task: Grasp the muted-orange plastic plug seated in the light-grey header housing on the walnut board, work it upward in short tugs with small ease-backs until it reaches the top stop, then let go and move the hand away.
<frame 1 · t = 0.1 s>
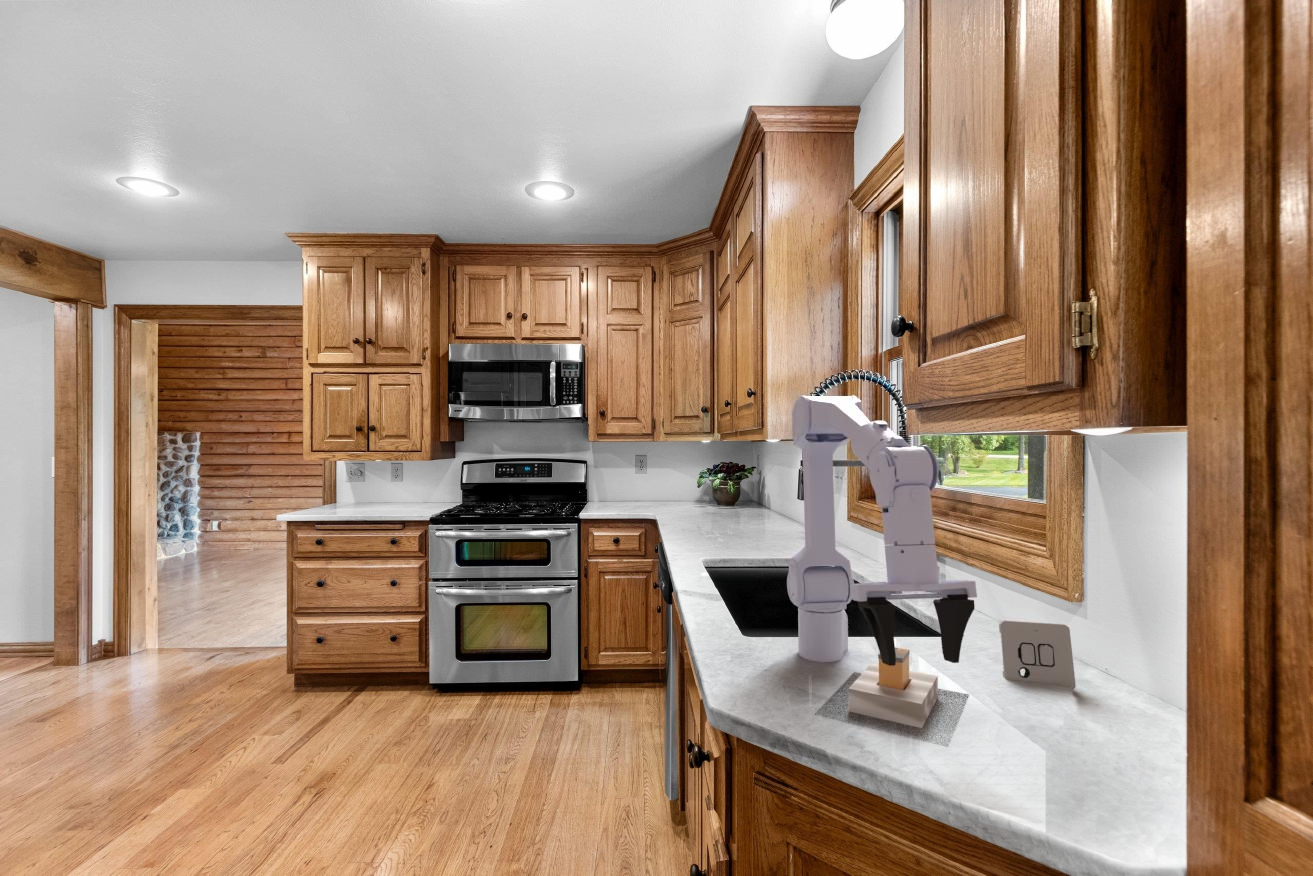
hand: (920, 662, 73), 10 cm above the countertop, tool pointing down, fingers open, 7 cm apart
plug: (894, 704, 84), point 1 cm above the countertop, slide at 0.0 cm
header: (894, 711, 84), on the countertop
electrical switch: (1033, 684, 94), on the countertop
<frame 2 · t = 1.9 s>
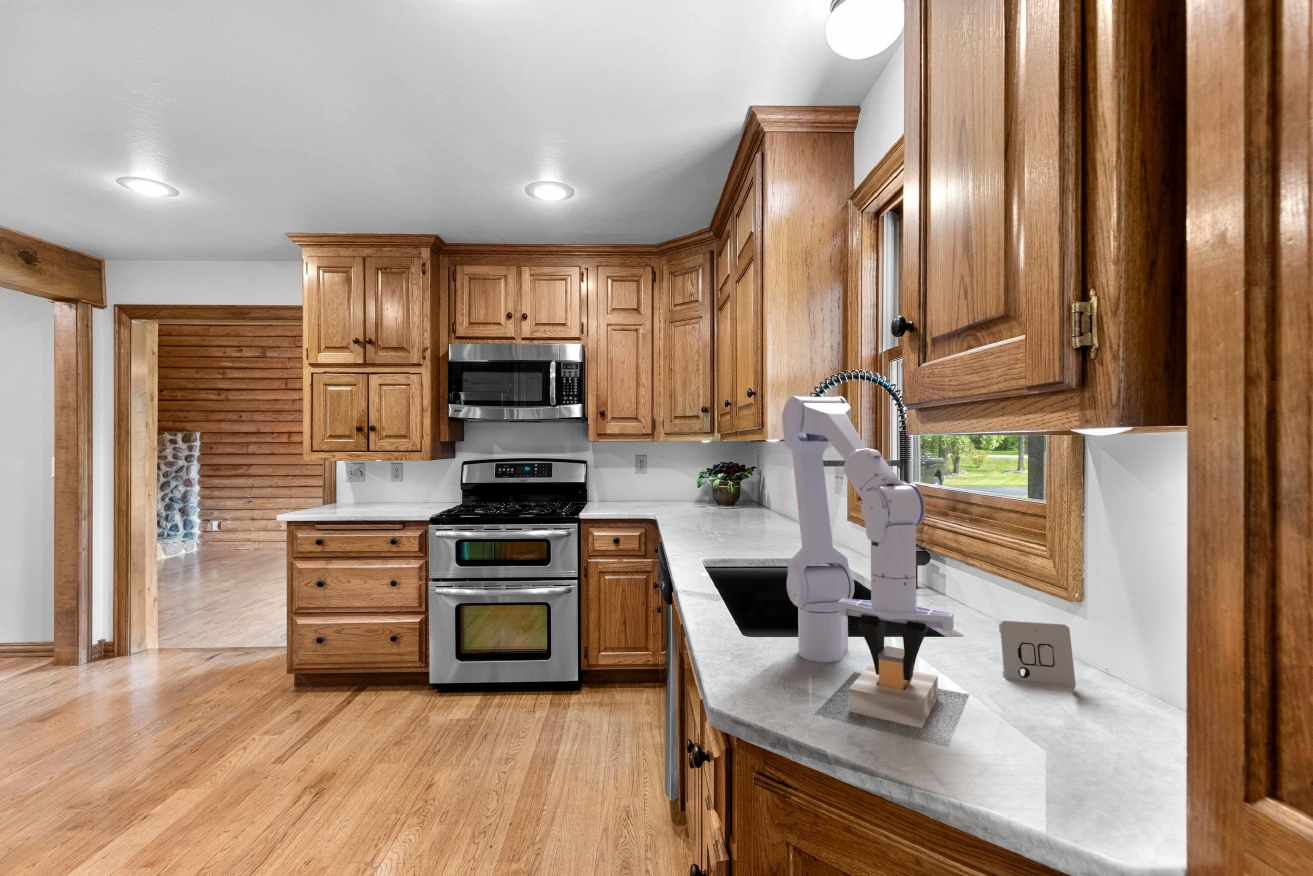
hand: (894, 675, 84), 5 cm above the countertop, tool pointing down, fingers closed on plug, 3 cm apart
plug: (894, 704, 84), point 1 cm above the countertop, slide at 0.0 cm, touching gripper
everything else where it was.
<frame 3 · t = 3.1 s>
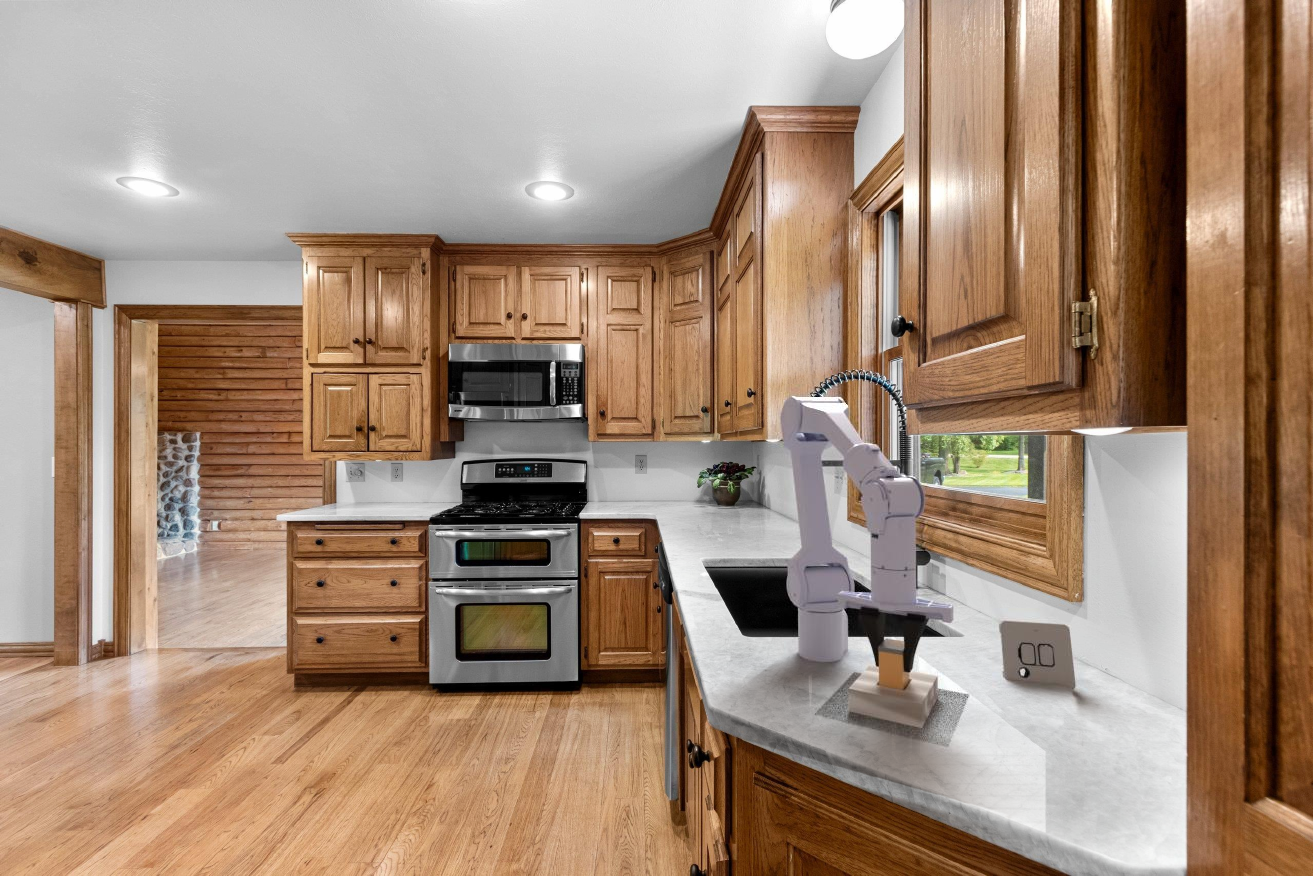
hand: (894, 667, 85), 6 cm above the countertop, tool pointing down, fingers closed on plug, 3 cm apart
plug: (894, 696, 84), point 2 cm above the countertop, slide at 1.0 cm, touching gripper
everything else where it was.
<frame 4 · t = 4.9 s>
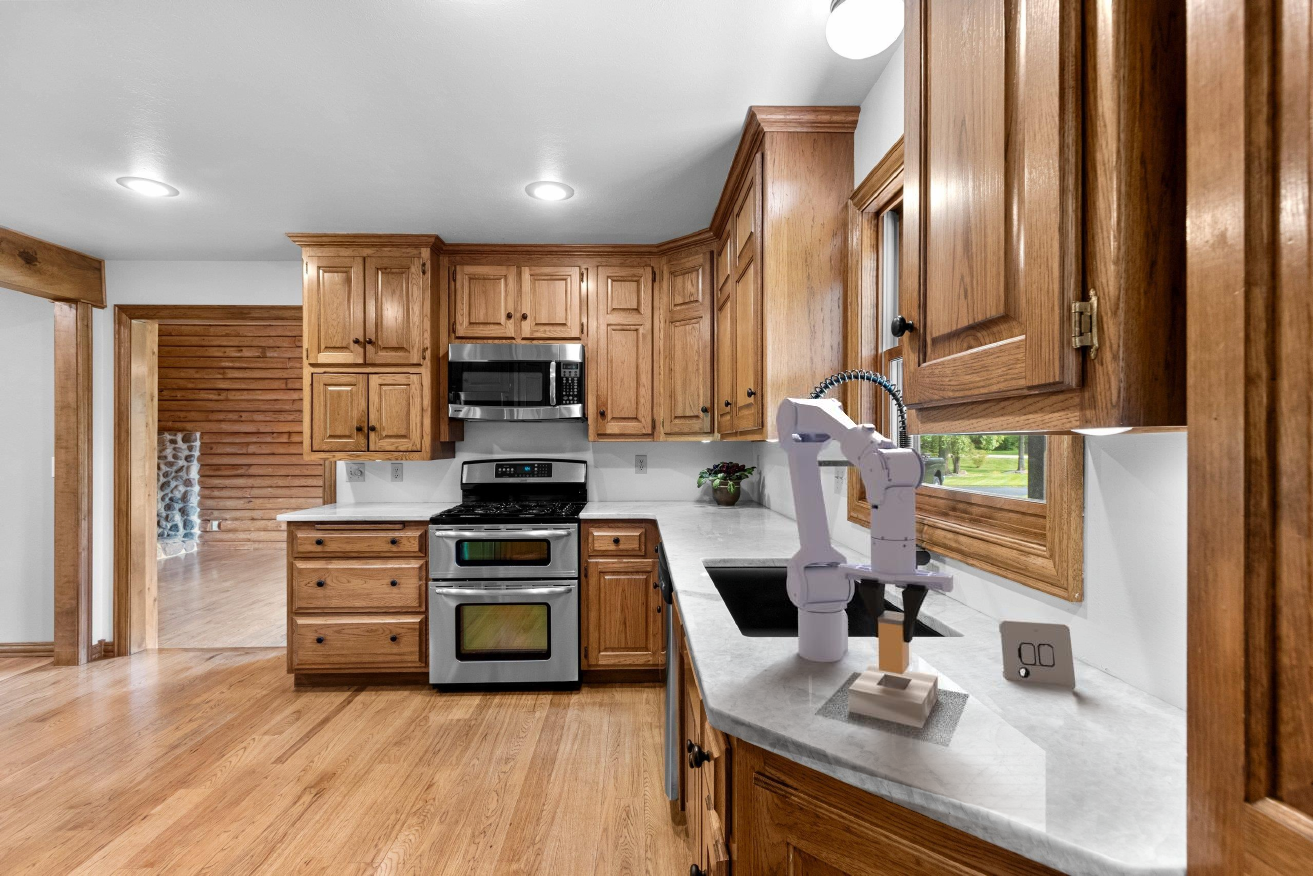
hand: (893, 638, 85), 10 cm above the countertop, tool pointing down, fingers closed on plug, 3 cm apart
plug: (894, 667, 85), point 6 cm above the countertop, slide at 4.9 cm, touching gripper
everything else where it was.
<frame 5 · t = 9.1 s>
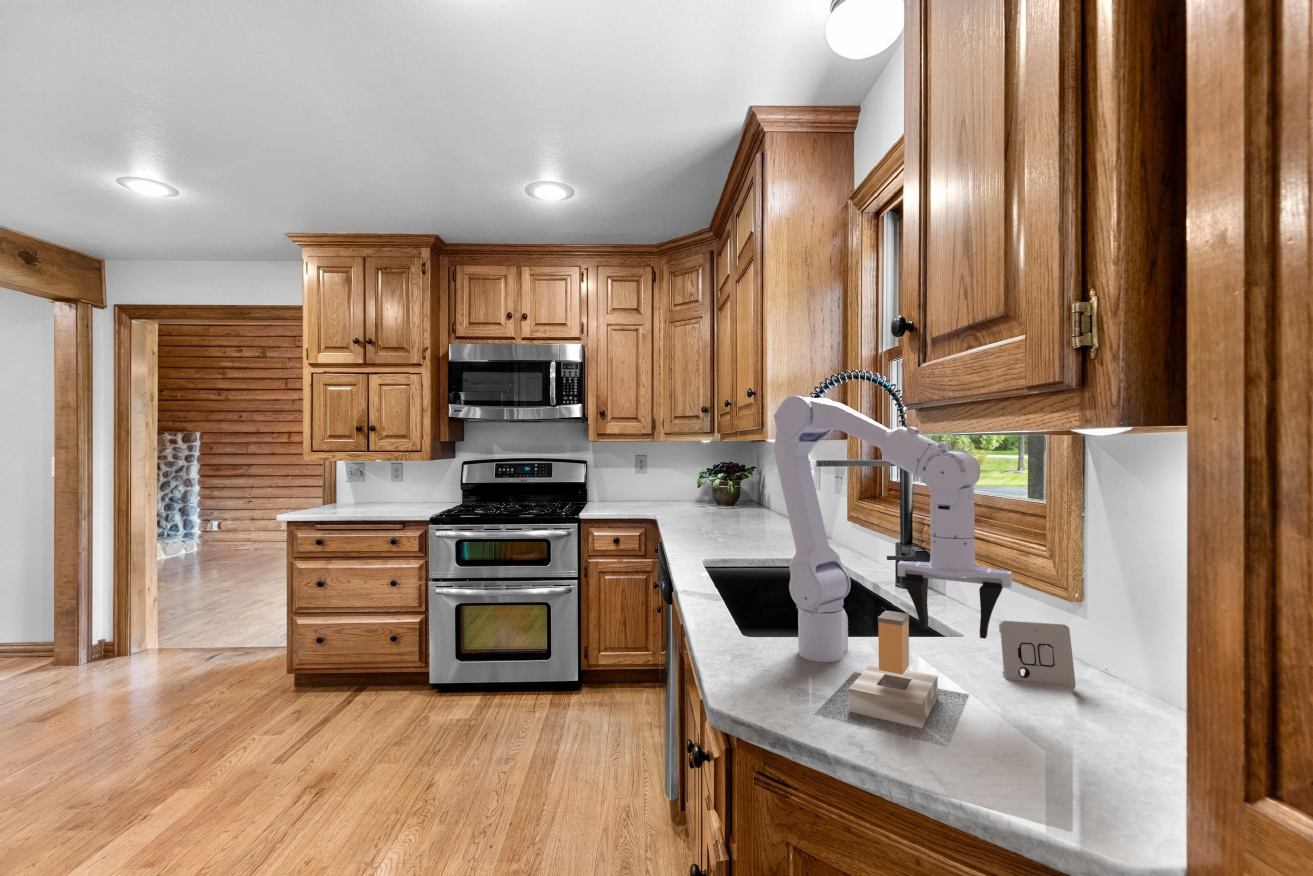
hand: (953, 632, 89), 9 cm above the countertop, tool pointing down, fingers open, 7 cm apart
plug: (894, 667, 85), point 6 cm above the countertop, slide at 4.9 cm
everything else where it was.
at the end: plug slide at 4.9 cm; the gripper is holding nothing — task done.
